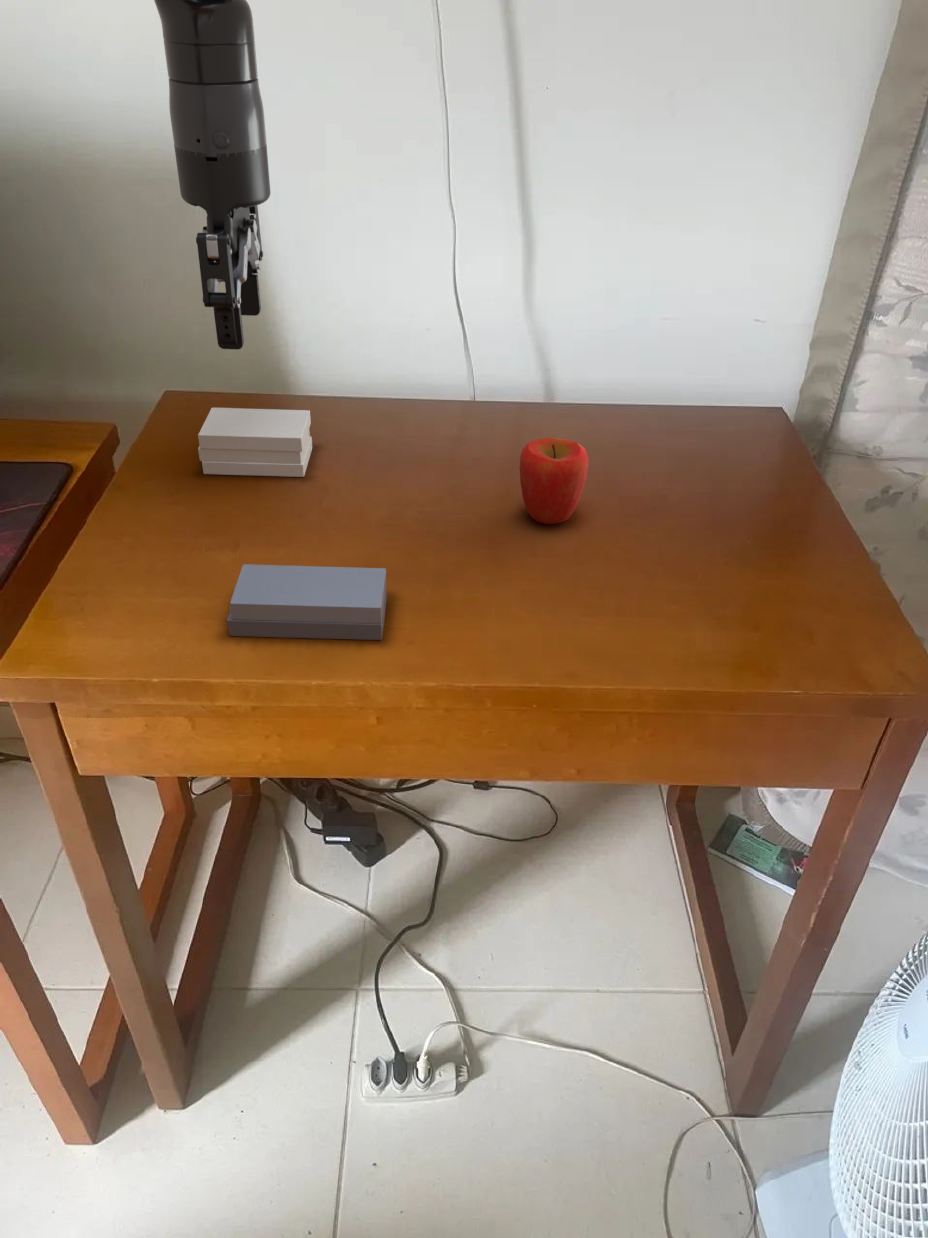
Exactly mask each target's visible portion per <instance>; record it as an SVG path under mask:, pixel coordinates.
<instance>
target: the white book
mask: <svg viewBox="0 0 928 1238" xmlns="http://www.w3.org/2000/svg"><path fill="white" fill-rule="evenodd" d="M311 424H312V421H311V410H309V409H308V410H307V409H275V408H241V407H211V408H210V410H209V412H208V414H207V416H206V418H205V420H204V422H203V424H202V426H201V428H200V431H199V432H198V434H197V438H198V445H199V446H200V449H230V450H264V451H298V452H302V451H303V447H304V444H305V441H306V438H307V434H308V431H309V432H310V427H311Z"/></svg>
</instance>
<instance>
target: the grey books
mask: <svg viewBox="0 0 928 1238" xmlns="http://www.w3.org/2000/svg"><path fill="white" fill-rule="evenodd" d="M387 588H388V586H387V568H385V567H355V566H353V567H352V566H351V567H349V566H348V567H347V566H319V565H318V566H316V565H282V564H281V565H279V564H249V563H248V564H246V563H245V564H242V566H241V568H240V572H239V575H238V578H237V581H236V584H235V586H234V589H233V593H232V595H231V599H230V601H229V608H230V609H229V613H228V615H227V619H226V624H227V630H228V636H229V637H250V638H254V637H255V638H284V639H285V638H288V639H289V638H290V639H291V638H292V639H325V640H326V639H327V640H358V641H359V640H360V641H362V640H363V641H382V640H383V633H384V626H385V619H386V618H385V617H386V609H387V601H388V589H387Z"/></svg>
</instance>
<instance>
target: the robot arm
mask: <svg viewBox="0 0 928 1238" xmlns="http://www.w3.org/2000/svg"><path fill="white" fill-rule="evenodd" d="M153 3H154V4H155V7H156V10H157V13H158V15H159V19H160V24H161V30H162V38H163V46H164V55H165V61H166V62H165V63H166V69H167V77H168V92H169V93H168V97H169V99H168V100H169V101H168V106H169V117H170V123H171V132H172V138H173V147H174V154H175V162H176V171H177V177H178V184H179V191H180V196H181V198H182V200H183V201H184V202H185V203H187V204H188V205H190V206H193V207H200V208H202V209H203V210H204V211H205V212H206V225H203V226H202V232H197V233H196V234H197V235H196V237H195V243H196V246H197V256H198V265H199V273H200V280H201V282H200V283H201V291H202V303H203V305H204V307H205V308H212V309H213V316H214V317H213V318H214V324H215V333H216V340H217V345H218V347H219V348H220V349H222V350H241V349H242V348H243V346H244V344H245V337H244V327H243V319H242V316H248V317H249V316H250V317H251V316H253V317H254V316H259V314H260V313H261V311H262V306H261V295H260V294H261V293H260V284H259V275H258V274H260V270H261V263H260V262H261V261H263V257H264V251H263V248H262V237H261V228H260V227H261V226H260V219H259V218H260V217H259V207H258V206H260V205H262V204H264V203H266V202H267V201H268V200H269V199H270V196H271V182H270V171H269V158H268V157H269V156H268V146H267V144H268V143H267V132H266V121H265V120H266V119H265V111H264V104H263V99H262V94H261V90H260V83H259V78H258V77H259V76H258V75H259V74H258V65H257V64H258V63H257V53H256V40H255V38H256V37H255V27H254V19H253V18H254V17H253V13H252V9H251V7H250V4H249V2H248V1H247V0H153ZM220 283H224V287H225V292H220V291H219V284H220Z"/></svg>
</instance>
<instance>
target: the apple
mask: <svg viewBox="0 0 928 1238" xmlns="http://www.w3.org/2000/svg"><path fill="white" fill-rule="evenodd" d="M589 463H590V462H589V457H588V452H587V449H586V448H585V447H584V446H583V445H581V444H580V443H578V442H577V441H574V440H571V439H565V438H561V437H560V438H559V437H543V438H538V439H535V440H531V441H530V442H528V443H527V444H525V446H524V447H523V448H522V450H521V453H520V457H519V481H520V488H521V495H522V496H521V497H522V500H523V502H524V506H525V509H526V511H527V513H528V514H529V515H530V517H531V518H532V519H533V520H534V521H536V522H537V523H540V524H544V525H556V524H561V523H564V522H566V521H568V520H569V519H570V517H571V516H572V514H573V513H574V512H575V510H576V509H577V506H578V503H579V501H580V498H581V495H582V493H583V491H584V488H585V484H586V481H587V478H588V477H587V476H588V468H589Z"/></svg>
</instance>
